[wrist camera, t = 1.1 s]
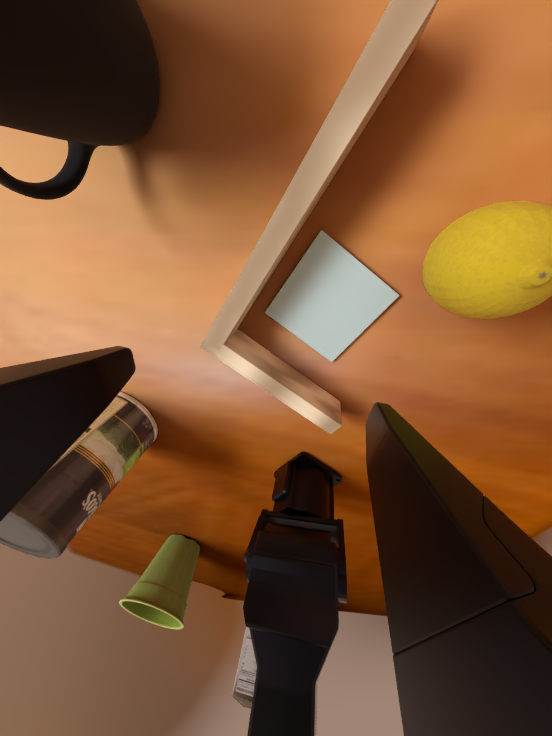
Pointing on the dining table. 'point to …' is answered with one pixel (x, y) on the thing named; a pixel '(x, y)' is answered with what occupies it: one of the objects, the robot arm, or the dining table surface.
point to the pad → (330, 298)
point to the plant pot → (165, 584)
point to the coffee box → (245, 673)
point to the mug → (75, 80)
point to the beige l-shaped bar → (306, 188)
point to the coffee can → (79, 480)
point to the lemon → (492, 261)
